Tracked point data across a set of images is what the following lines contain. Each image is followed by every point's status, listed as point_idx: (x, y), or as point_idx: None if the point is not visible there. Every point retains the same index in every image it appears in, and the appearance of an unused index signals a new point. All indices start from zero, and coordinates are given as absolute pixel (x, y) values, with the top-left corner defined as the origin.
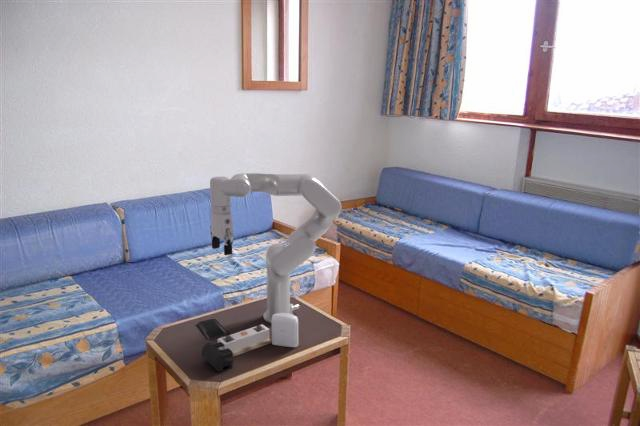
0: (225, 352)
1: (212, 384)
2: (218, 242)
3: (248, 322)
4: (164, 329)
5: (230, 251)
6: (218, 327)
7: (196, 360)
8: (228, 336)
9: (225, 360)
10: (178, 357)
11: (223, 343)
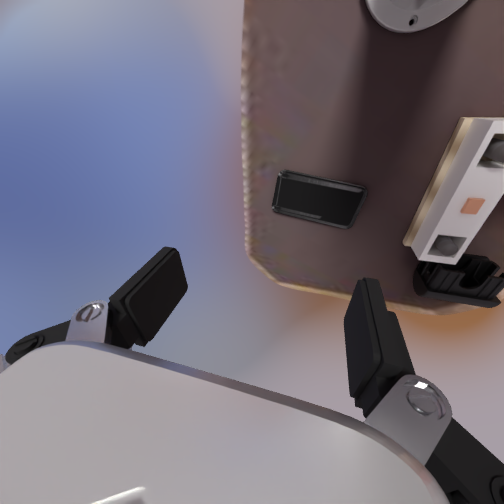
0: (495, 290)
1: None
2: (154, 284)
3: (358, 98)
4: (255, 256)
5: (394, 323)
6: (324, 188)
7: (393, 278)
8: (448, 249)
9: None
10: None
11: (448, 263)
